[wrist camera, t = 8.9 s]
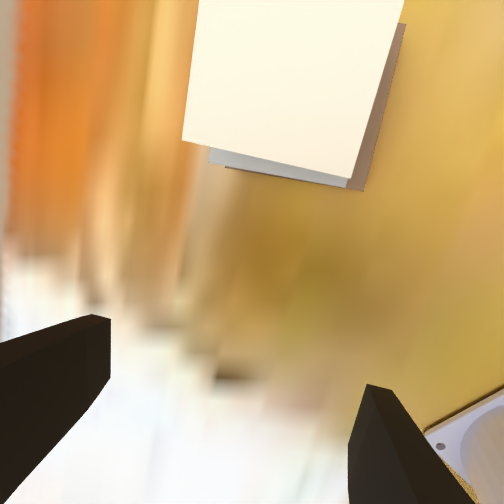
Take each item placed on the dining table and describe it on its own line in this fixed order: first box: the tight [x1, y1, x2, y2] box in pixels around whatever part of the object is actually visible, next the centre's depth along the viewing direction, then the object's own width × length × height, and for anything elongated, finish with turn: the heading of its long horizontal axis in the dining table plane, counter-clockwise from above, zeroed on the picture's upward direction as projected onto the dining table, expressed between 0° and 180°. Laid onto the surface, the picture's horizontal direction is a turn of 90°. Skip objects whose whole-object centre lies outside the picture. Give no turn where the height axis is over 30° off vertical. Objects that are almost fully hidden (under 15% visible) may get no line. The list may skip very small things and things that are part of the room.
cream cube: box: [182, 0, 404, 179], centre depth 10 cm, size 4×4×4 cm
